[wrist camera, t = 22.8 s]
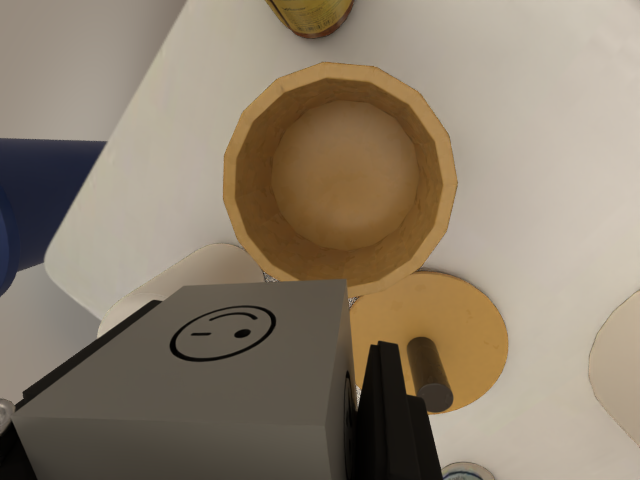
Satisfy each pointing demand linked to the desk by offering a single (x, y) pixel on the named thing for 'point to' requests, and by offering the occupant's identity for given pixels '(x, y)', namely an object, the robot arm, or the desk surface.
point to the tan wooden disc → (434, 337)
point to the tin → (339, 178)
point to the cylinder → (619, 366)
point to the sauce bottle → (311, 15)
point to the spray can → (466, 472)
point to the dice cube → (209, 392)
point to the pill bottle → (188, 279)
